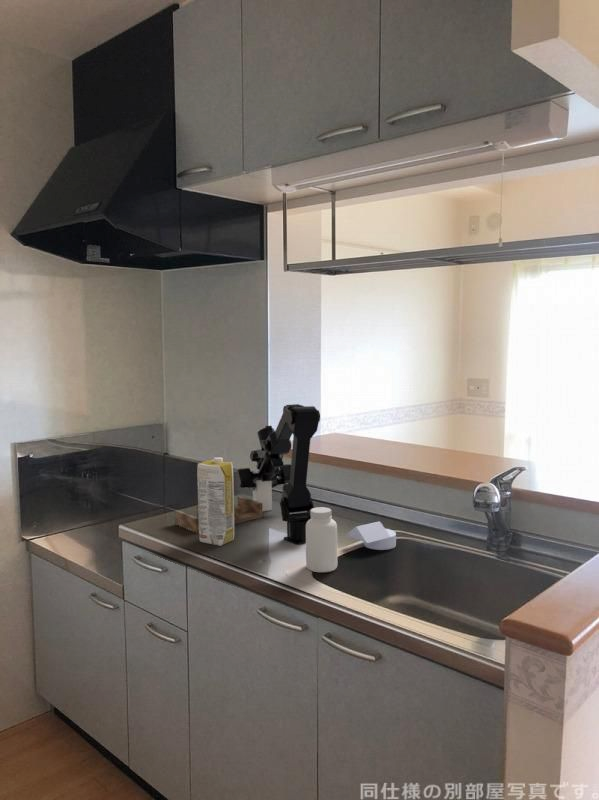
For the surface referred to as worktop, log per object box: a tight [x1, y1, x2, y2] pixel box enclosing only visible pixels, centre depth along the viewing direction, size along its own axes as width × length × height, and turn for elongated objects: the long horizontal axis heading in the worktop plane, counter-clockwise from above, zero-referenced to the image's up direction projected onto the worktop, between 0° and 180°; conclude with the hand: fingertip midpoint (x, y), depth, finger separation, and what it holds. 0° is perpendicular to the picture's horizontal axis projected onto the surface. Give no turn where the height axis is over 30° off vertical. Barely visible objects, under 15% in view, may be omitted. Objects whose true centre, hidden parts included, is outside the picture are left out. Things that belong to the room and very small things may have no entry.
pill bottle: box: [305, 506, 338, 573], centre depth 163 cm, size 8×8×15 cm
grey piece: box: [252, 469, 273, 513], centre depth 216 cm, size 5×5×13 cm
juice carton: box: [196, 457, 235, 547], centre depth 183 cm, size 9×8×24 cm
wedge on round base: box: [345, 521, 397, 551], centre depth 179 cm, size 9×7×13 cm
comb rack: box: [174, 495, 264, 534], centre depth 204 cm, size 12×25×4 cm, turn 132°
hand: (260, 489), depth 217 cm, fingers open, 6 cm apart
